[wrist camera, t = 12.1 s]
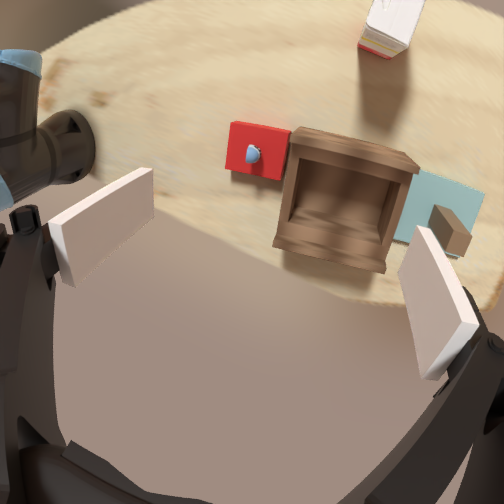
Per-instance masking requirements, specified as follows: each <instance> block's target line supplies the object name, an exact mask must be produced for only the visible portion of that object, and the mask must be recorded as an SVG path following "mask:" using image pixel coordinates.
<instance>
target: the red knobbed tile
mask: <svg viewBox="0 0 504 504" xmlns="http://www.w3.org/2000/svg"><path fill="white" fill-rule="evenodd" d="M290 135H291V131H289V130H284V129H279V128H274V127H269V126H264V125H258V124H252V123H246V122H240V121H235V122H231V124H230V132H229V140H228V148H227V157H226V165H225V169H228V170H233V171H238V172H243V173H248V174H252V175H257V176H261V177H266V178H270V179H275V180H279V181H280V180H281V178H282V177H283V173H284V168H285V163H286V157H287V152H288V147H289V141H290Z"/></svg>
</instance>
